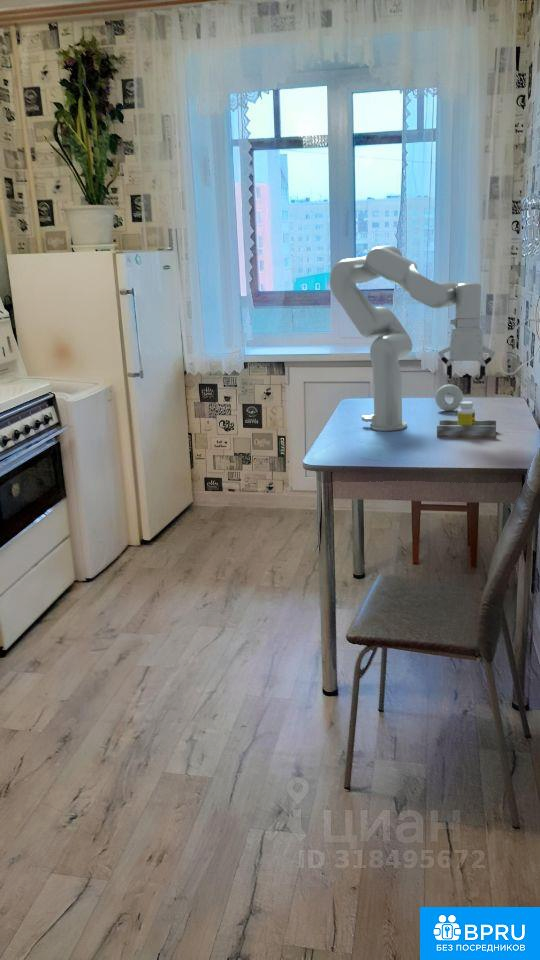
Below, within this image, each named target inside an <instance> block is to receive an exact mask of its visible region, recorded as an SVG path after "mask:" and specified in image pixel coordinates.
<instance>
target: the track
mask: <svg viewBox="0 0 540 960" xmlns="http://www.w3.org/2000/svg"><path fill="white" fill-rule="evenodd" d="M438 423H439V424H437V425H436V438H442V437H449V439H450V438H451V439H452V438H455V439H456V438H457V439H458V438H460V439H462V438H463V439H466V438H467V439H496V435H497V420H496V419H475V425H458V419H439V422H438Z"/></svg>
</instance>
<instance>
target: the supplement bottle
mask: <svg viewBox="0 0 540 960" xmlns="http://www.w3.org/2000/svg"><path fill="white" fill-rule="evenodd" d="M473 406H474V402H473V401H471V400H466V401H463V400H462V402H460V406H459V407H460V408H458V410H457V420H458V425H475V420H476V410H475V409H474V408H473Z"/></svg>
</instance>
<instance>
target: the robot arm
mask: <svg viewBox="0 0 540 960" xmlns="http://www.w3.org/2000/svg"><path fill="white" fill-rule="evenodd" d="M381 277H382V278H384V279H386V280H387V281H389V282H391V283H393V284H395V285H397V286H399V287H400V288H402V289H403V291H404V292H405V293H407V294H408V295H409V297H411V298H412V299H415V301H418V302H419V303H422V304H424V305H425V306H426V307H430V308H433V309H441V308H445V307H446V308H447V307H450V306H452V307H453V306H455V316H454V317H455V318H454V319H450V325H453V326H454V327H453V328H452V330H451V333H450V342H449V343H450V345H449V346H447V347H446V348H443V349H441V350H439V352H438V356H439V357H440V359H441V361H442V362H443V363H444V364H445V366H446V376H448V379H451V378H452V377H453V365H452V363H453V362H454V361H455V362H462V361H463V362H465V361H466V362H469V361H470V362H472V361H473V362H475V361H476V362H479V363H480V364H481V365H480V369H479V379H480V380H483V378H484V377H485V376H486V366H487V365H488V364H489V363H491V361H492V359H493V358H494V356H495V355H496V351H495V350H492V349H491V348H489V347H487V346H485V345H484V332H483V331H484V330H483V328H482V327H481V308H482V307H481V306H482V305H481V304H482V286H481V284H480V283H479V282H462V283H461V282H455V281H443V282H435V281H433V280H432V279H429V278H428V277H427V276H424V275H422V273H420V272H419V270H418V264H416V263H415V262H414V261H412V260H410V259H408V258H406V257H404V256H403V254H402V252H401V250H400V249H399V248H398V247H396V246H394V245H380V246H375V247H373V248H371V249H370V250H368V253H367V254H366V255H365V256H360V257H353V258H352V257H351V258H345V259H341V260H340V261H338V262H336V263H335V264H334V265H333V267H332V269H331V270H330V275H329V285H330V289H331V293H332V294H333V296H334V298H335V299H336V301H337V302H338V303H339V305H340V306H341V307H342V308H343V310H344V312H345V313H346V315H347V316H348V318H349V319H350V320H351V322H352V323H353V325H354V326H355V328H356V330H357V331H358V332H359V334H360V335H361V336H363V337H365V338H373V337H376V339H374V340H373V342H372V343H371V345H370V347H369V350H370V351H369V355H370V361H371V366H372V378H373V379H372V380H373V383H372V385H373V412H374V413H373V414H371V415H368V414H367V415H362V417H361V421H362V422H366V423H368V422H369V423H370V424H369V427H370V429H371V428H372V430H374V431H382V432H390V431H391V432H392V431H401V430H403V429H406V428H407V426H408V424H407V422H406V421H404V420H403V398H402V397H403V395H402V394H403V392H402V390H403V386H402V384H403V383H402V382H403V381H402V371H401V370H402V369H401V366H400V363H399V361H401V360H404V359H406V358H407V357H408V356H410V354H411V353H412V350H413V342H412V339H411V336H410V334H408V332H407V330H406V329H405V327H404V326H403V325H402V323H401V322H400V320H399V319H398V318H397V317H398V316H396V315H395V314H394V312H393V311H392V310H391V309H390V308H388V307H384V306H376V307H375V306H374V305H373V304H372V303H371V301H370V300H369V299H368V297H367V296H366V294H365V293H364V292H363V291H362V290H361V289H360V288H358V287H357V285H356V284H363V283H367V282H370V281H373V280H376V279H378V278H381ZM448 352H449V359H448V358H447V357H446V356H445V354H446V353H448ZM484 352H485V353H486V354H489V355H488V357H487V358H486V359H484V358H483V356H484Z"/></svg>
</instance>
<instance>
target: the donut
mask: <svg viewBox="0 0 540 960" xmlns="http://www.w3.org/2000/svg"><path fill="white" fill-rule="evenodd" d="M448 394H451V395H452V396H453V398H452V399H451V401H446V399H445V396H446V395H448ZM463 398H464V397H463V392H462V390H461V388H459V386H457V385H455V384H449V383H448V384H444V385H442V386H440V387H439V388H438V389H437V391H436V393H435V397H434V399H435V403H436V405H437V407H438V408H439V409H440V410H443V411H444V412H445V411H446V412H452V411H455V410H456V409H459V407H460V402H463Z"/></svg>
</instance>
